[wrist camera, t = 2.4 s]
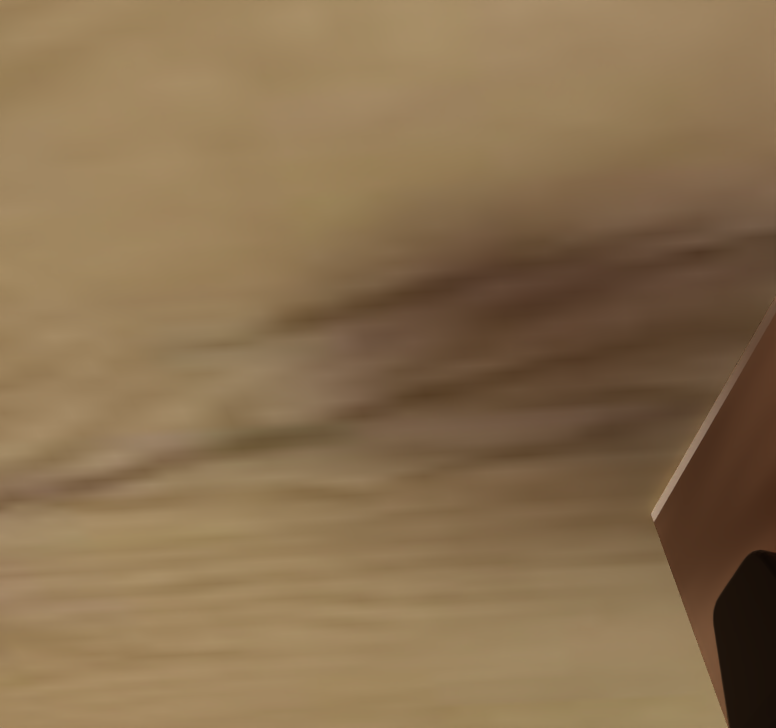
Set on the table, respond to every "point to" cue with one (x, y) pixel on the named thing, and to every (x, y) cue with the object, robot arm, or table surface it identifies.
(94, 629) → the table surface
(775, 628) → the robot arm
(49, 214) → the table surface
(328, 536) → the table surface
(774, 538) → the walnut cube
